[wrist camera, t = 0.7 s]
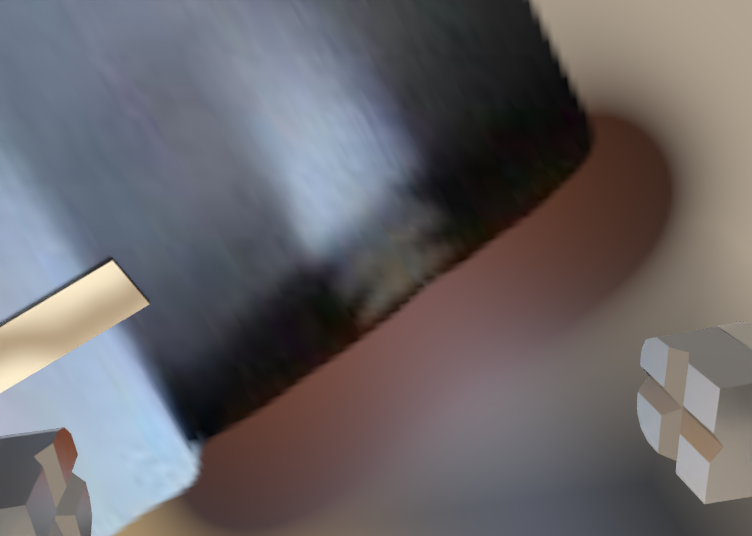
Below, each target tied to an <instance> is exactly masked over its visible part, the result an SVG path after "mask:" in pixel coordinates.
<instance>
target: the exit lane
mask: <svg viewBox="0 0 752 536" xmlns="http://www.w3.org/2000/svg"><path fill="white" fill-rule="evenodd" d="M149 304H150V303H149V301H148V300H147V299H146V298H145V297H144V296H143V294H142V293H141V292H140V291H139V290H138V288H137V287H136V286H135V285H134V284H133V283H132V281H131V280H130V279H129V278H128V277H127V276H126V274H125V273H124V272H123V271H122V270H121V268H120V267H119V266H118V265H117V264H116V263H115V261H114V260H113V259H112V260H111V261H109V262H107V263H106V264H104V265H102V266H101V267H99V268H97V269H96V270H94V271H92V272H91V273H89V274H87V275H86V276H84V277H82V278H81V279H79V280H77V281H76V282H74V283H72V284H71V285H69V286H67V287H66V288H64V289H62V290H61V291H59V292H57V293H55V294H54V295H52V296H50V297H49V298H47V299H45V300H44V301H42V302H40V303H39V304H37V305H35V306H34V307H32V308H30V309H29V310H27V311H25V312H24V313H22V314H20V315H19V316H17V317H15V318H14V319H12V320H10V321H9V322H7V323H5V324H4V325H2V326H0V393H1V392H3V391H5V390H6V389H8V388H10V387H11V386H13V385H15V384H16V383H18V382H20V381H22V380H23V379H25V378H27V377H28V376H30V375H32V374H33V373H35V372H37V371H38V370H40V369H42V368H43V367H45V366H47V365H48V364H50V363H52V362H53V361H55V360H57V359H58V358H60V357H62V356H63V355H65V354H67V353H69V352H70V351H72V350H74V349H75V348H77V347H79V346H80V345H82V344H84V343H85V342H87V341H89V340H90V339H92V338H94V337H95V336H97V335H99V334H100V333H102V332H104V331H105V330H107V329H109V328H110V327H112V326H114V325H116V324H117V323H119V322H121V321H122V320H124V319H126V318H127V317H129V316H131V315H132V314H134V313H136V312H137V311H139V310H141V309H142V308H144V307H146V306H147V305H149Z"/></svg>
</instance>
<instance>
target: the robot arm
mask: <svg viewBox="0 0 752 536" xmlns="http://www.w3.org/2000/svg"><path fill="white" fill-rule="evenodd" d="M640 366H641V367H642V368H643V370H644V371H645V372H646V374H647V375H648V376H649V377H648V378H647V380H646V381H645V382H644V384H643V385H642V386H641V388H640V389H639V390H638V398H637V413H638V417H639V421H640V426H641V429H642V431H643V433H644V435H645V437H646V438H647V441H648V442H649V443H650V445H651V446H652V447H653V448H654V449H655V450H656V451H657V452H658V453H659V454H662V455H664V456H666V457H669V458H671V459H673V460H676V461H677V465H676V473H677V475H678V476H679V477H680V478H681V479H682V480H683V481H684V482H685V483H686V484H687V486H688V487H689V488H690V489H691V490H692V491H693V492H694V493H695V494H696V495H697V496H698V497H699V498H700V500H701V501H702V502H703V503H704V504H708V503H714V502H720V501H726V500H733V499H739V498H745V497H751V496H752V323H747V322H735V323H730V324H725V325H720V326H715V327H710V328H705V329H699V330H694V331H688V332H683V333H677V334H671V335H666V336H660V337H655V338H651V339H647V340H646V341H645V343H644V346H643V348H642V351H641V361H640ZM77 456H78V454H77V451H76V447H75V444H74V441H73V438H72V435H71V433H70V432H69V431H68V430H67V429H66V428H65V427H64V428H56V429H49V430H42V431H34V432H27V433H19V434H12V435H5V436H0V536H91V526H92V511H91V503H90V497H89V493H88V489H87V485H86V482H85V481H83V480H82V479H80V478H79V477H78V476H76V475H75V474H74V473H72V470H73V467H74V464H75V461H76V458H77Z"/></svg>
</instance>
